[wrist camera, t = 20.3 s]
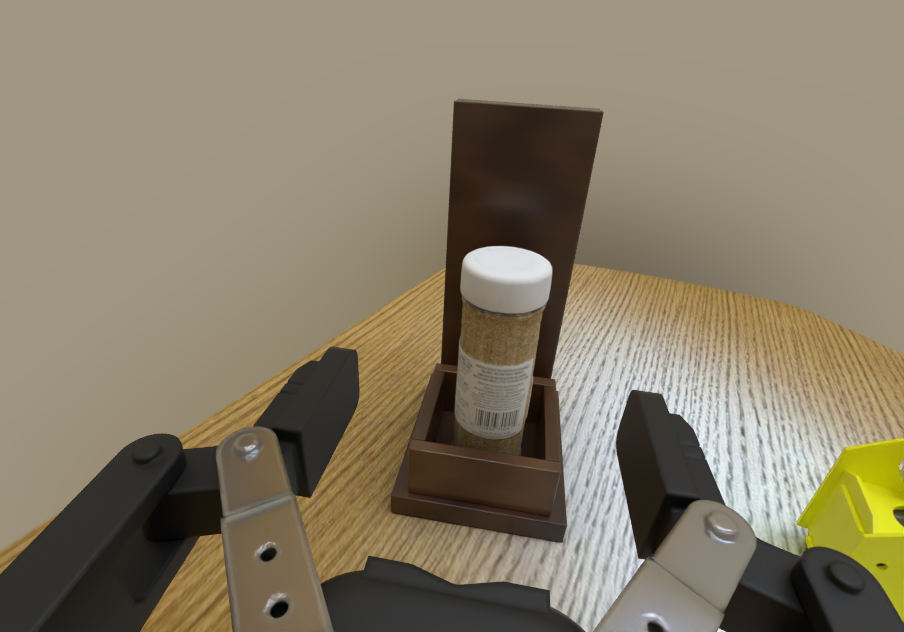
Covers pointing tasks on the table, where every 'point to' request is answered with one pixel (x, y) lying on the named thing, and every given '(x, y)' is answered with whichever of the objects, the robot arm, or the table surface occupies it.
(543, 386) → the walnut stand
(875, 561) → the yellow toy chassis
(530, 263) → the sprinkles bottle
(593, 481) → the table surface
